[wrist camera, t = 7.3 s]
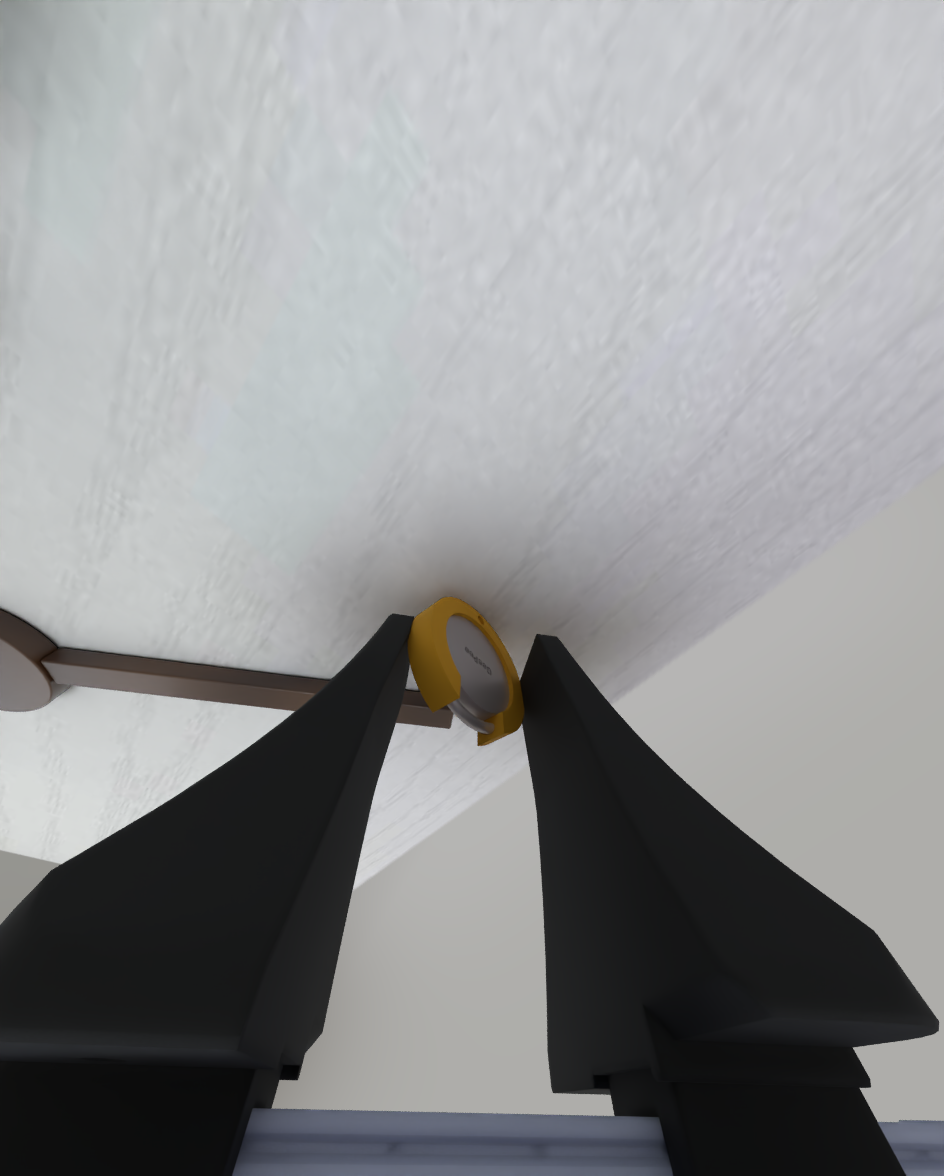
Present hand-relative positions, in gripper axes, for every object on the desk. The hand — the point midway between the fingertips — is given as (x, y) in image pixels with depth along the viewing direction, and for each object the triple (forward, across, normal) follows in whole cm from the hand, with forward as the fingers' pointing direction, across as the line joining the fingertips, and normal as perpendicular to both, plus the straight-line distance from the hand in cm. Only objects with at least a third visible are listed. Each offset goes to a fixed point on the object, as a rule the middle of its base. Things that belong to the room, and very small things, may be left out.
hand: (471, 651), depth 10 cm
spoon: (+2, +10, +4) cm, 11 cm away
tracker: (+2, 0, 0) cm, 2 cm away
